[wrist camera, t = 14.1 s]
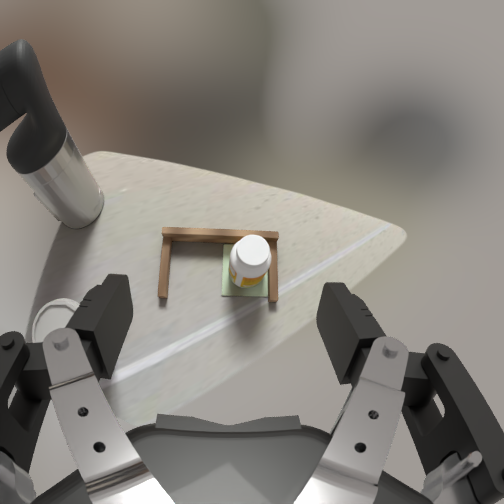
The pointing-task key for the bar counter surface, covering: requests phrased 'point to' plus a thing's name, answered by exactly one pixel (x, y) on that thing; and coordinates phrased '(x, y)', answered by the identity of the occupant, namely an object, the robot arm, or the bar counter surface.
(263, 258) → the supplement bottle
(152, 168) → the bar counter surface
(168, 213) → the bar counter surface
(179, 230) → the bay
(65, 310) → the disposable coffee cup
